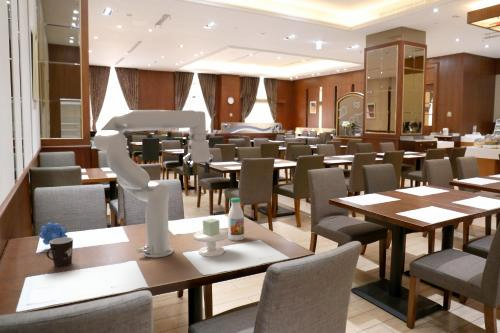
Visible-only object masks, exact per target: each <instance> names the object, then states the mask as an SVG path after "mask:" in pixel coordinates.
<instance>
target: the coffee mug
mask: <svg viewBox="0 0 500 333" xmlns="http://www.w3.org/2000/svg"><path fill="white" fill-rule="evenodd" d="M49 243H50V244H49V247H50V248H48V250H47V251H46V256H47V258H48V259H49V260H52V261H53V266H54V268H55V267H56V268H65V267H68V266H70V265H72V264H73V262H72V261H73V244H74V239H73V237H69V236H68V237H63V238H57V239H53V240H51V241H50V242H49ZM50 252H51V257H50V255H49V253H50Z"/></svg>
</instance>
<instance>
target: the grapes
mask: <svg viewBox="0 0 500 333" xmlns="http://www.w3.org/2000/svg"><path fill="white" fill-rule="evenodd" d="M40 231H41V232H40V233H39V234H38V236H39V238H40V239H42V243H43V244H44V245H46V246H48V245H50V243H49V242H50V241H51V240H53V239H57V238H63V237H69V236H68V235H67V232H68V231H67V229H66V228H65V227H62V225H61V224H60V223H52V222H48V223H46V226H45V225H43V226H41V227H40Z"/></svg>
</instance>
